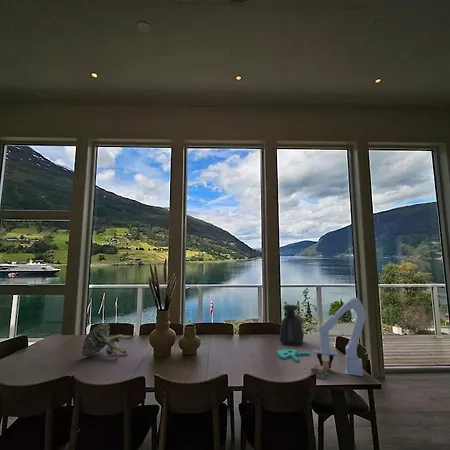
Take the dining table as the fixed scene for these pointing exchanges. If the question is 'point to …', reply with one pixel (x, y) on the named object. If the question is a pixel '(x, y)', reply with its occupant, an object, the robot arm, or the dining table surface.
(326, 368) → the terracotta cylinder
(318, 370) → the tower top slab
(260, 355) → the dining table surface
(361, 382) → the dining table surface
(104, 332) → the green textured branching piece
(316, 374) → the tower base slab
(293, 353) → the teal keys
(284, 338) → the bottle
